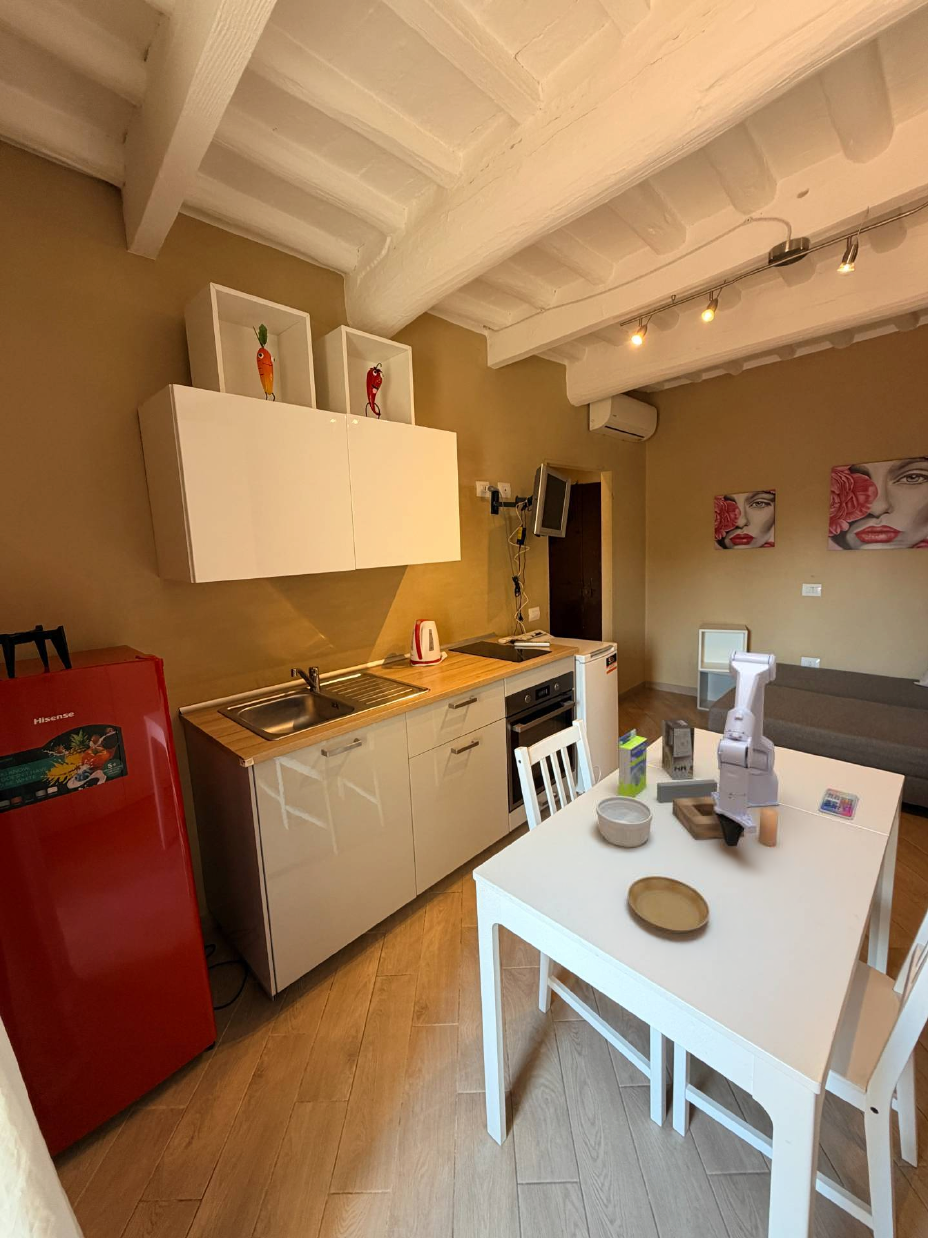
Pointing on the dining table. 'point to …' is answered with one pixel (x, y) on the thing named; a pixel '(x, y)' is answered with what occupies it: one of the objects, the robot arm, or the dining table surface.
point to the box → (632, 764)
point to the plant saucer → (668, 904)
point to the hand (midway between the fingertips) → (731, 844)
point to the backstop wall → (685, 790)
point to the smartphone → (839, 804)
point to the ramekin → (624, 820)
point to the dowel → (768, 826)
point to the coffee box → (678, 748)
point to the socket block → (698, 817)
